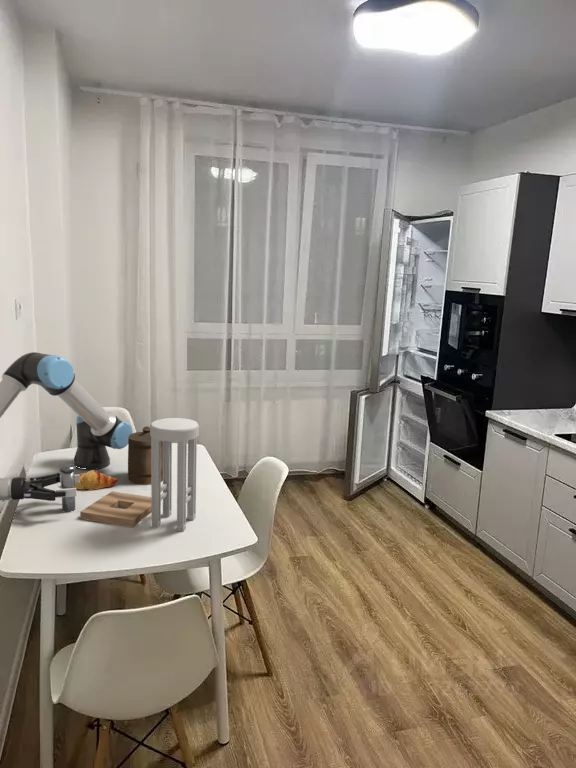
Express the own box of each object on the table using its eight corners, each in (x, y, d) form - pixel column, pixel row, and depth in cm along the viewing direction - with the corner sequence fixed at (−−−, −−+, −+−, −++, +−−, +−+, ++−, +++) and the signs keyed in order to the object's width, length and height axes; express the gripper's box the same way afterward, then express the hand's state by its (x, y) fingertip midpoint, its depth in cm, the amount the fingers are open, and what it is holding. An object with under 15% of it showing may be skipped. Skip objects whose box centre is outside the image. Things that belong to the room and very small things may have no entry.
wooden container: (168, 473, 243) (168, 423, 239) (159, 485, 229) (160, 432, 225) (134, 471, 244) (133, 421, 240) (123, 483, 229) (122, 430, 225)
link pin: (66, 506, 205) (65, 463, 202) (79, 508, 204) (78, 465, 201) (57, 511, 200) (56, 468, 197) (70, 513, 199) (69, 469, 196)
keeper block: (112, 497, 215) (111, 491, 214) (160, 504, 210) (160, 498, 209) (80, 518, 196) (80, 511, 195) (133, 527, 191) (133, 520, 190)
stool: (203, 516, 202) (204, 420, 195) (186, 534, 187) (188, 431, 180) (162, 510, 205) (162, 415, 198) (142, 528, 190) (142, 426, 183)
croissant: (61, 497, 222) (57, 483, 217) (65, 477, 229) (62, 464, 224) (117, 495, 224) (115, 482, 219) (120, 476, 232) (118, 462, 227)
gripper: (18, 486, 208) (80, 482, 214) (5, 513, 185) (75, 509, 190) (17, 466, 207) (80, 463, 213) (4, 491, 183) (74, 487, 189)
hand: (78, 485), depth 201 cm, fingers open, 13 cm apart
